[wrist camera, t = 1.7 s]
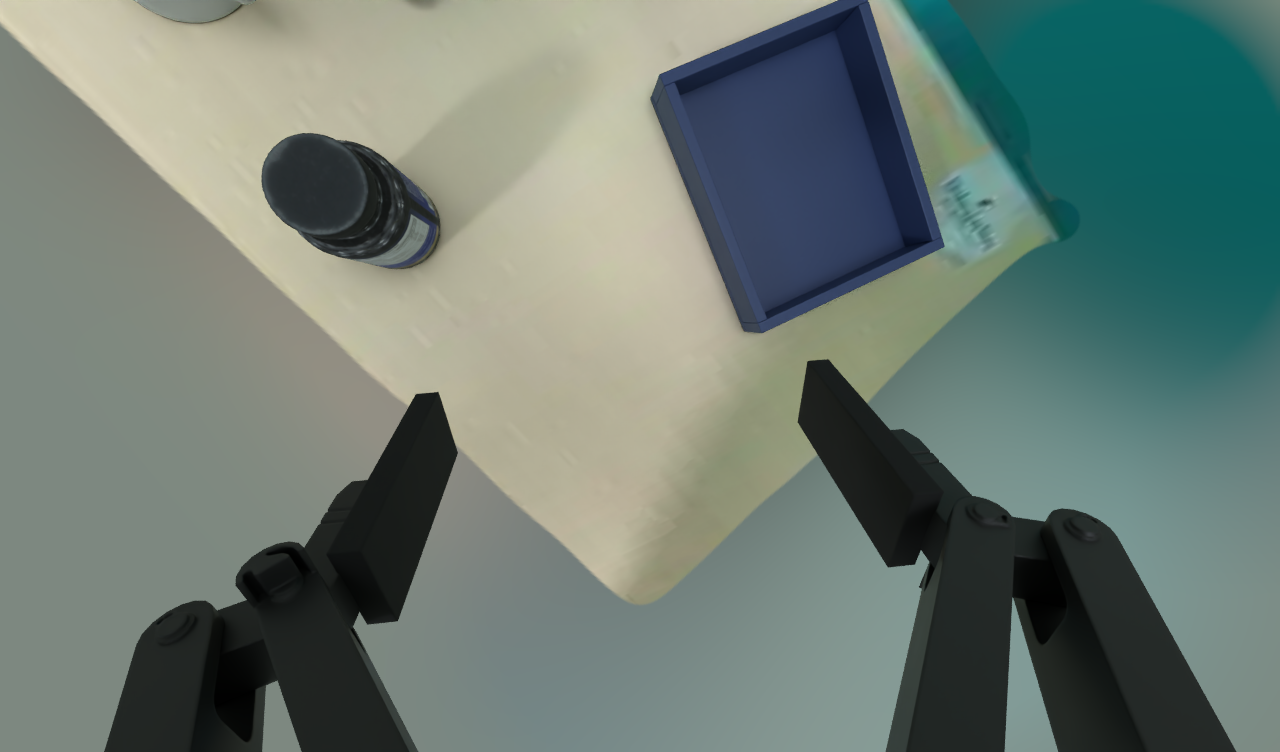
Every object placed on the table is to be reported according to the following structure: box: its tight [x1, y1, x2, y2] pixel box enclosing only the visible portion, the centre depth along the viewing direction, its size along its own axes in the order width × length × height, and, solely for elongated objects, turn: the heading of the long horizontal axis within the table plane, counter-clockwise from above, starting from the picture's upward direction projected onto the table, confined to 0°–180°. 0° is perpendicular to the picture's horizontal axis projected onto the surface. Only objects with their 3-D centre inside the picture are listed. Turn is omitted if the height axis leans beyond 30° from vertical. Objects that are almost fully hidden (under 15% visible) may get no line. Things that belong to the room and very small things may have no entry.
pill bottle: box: [262, 133, 440, 269], centre depth 28 cm, size 6×6×11 cm
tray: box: [651, 0, 945, 333], centre depth 35 cm, size 19×16×4 cm
